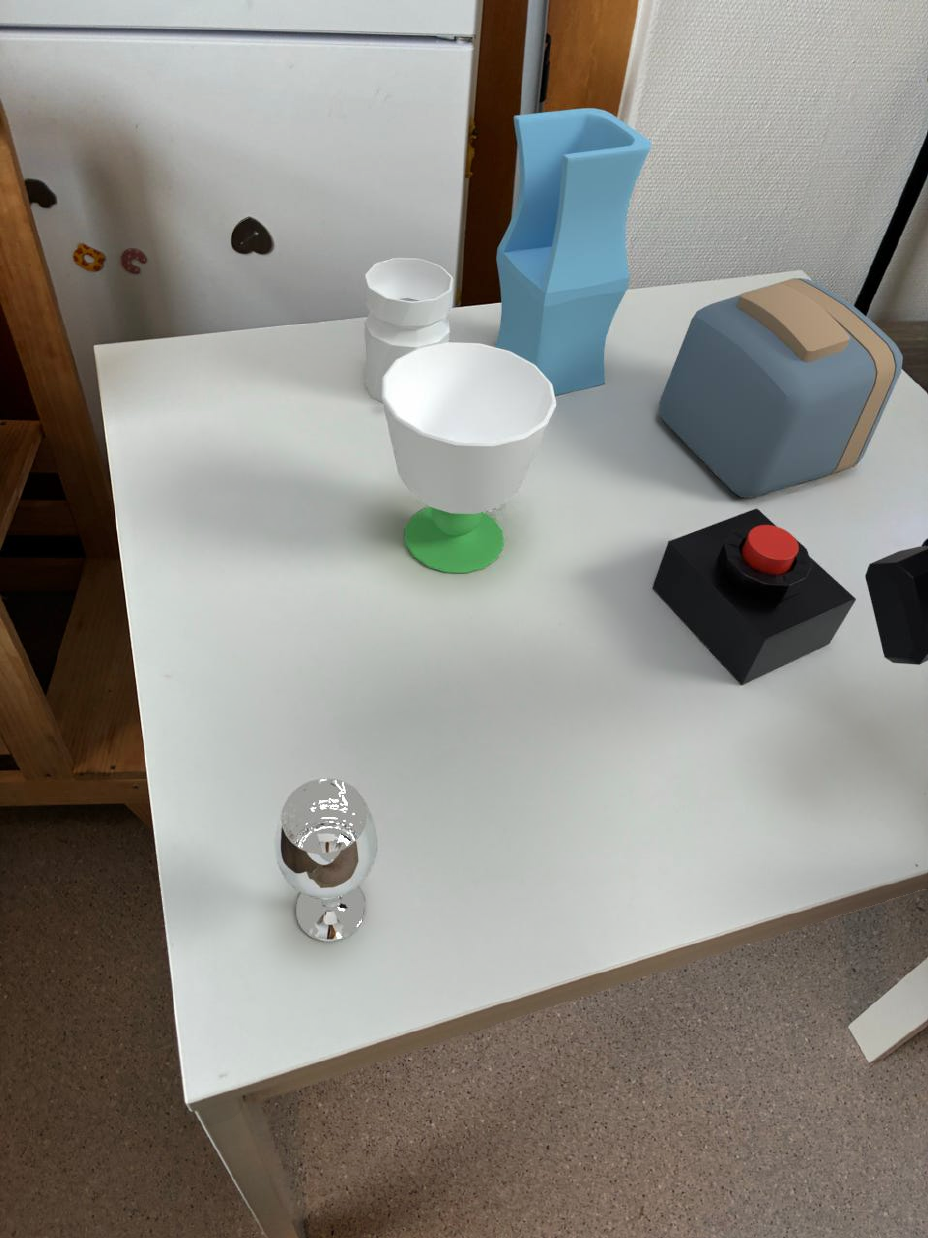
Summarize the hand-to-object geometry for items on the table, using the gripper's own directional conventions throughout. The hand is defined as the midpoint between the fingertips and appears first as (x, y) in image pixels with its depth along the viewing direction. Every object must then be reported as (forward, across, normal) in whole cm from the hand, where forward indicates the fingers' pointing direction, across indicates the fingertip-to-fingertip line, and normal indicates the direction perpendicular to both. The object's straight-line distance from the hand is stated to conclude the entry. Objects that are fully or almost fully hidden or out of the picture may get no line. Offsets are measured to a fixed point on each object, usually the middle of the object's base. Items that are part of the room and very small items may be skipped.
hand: (881, 572), depth 63 cm
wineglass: (+10, +42, +9) cm, 44 cm away
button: (+11, 0, -2) cm, 11 cm away
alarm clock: (+29, -18, -9) cm, 35 cm away
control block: (+16, 0, +3) cm, 16 cm away
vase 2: (+43, -5, -24) cm, 50 cm away
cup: (+29, +18, -10) cm, 36 cm away
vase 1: (+46, +11, -26) cm, 54 cm away
